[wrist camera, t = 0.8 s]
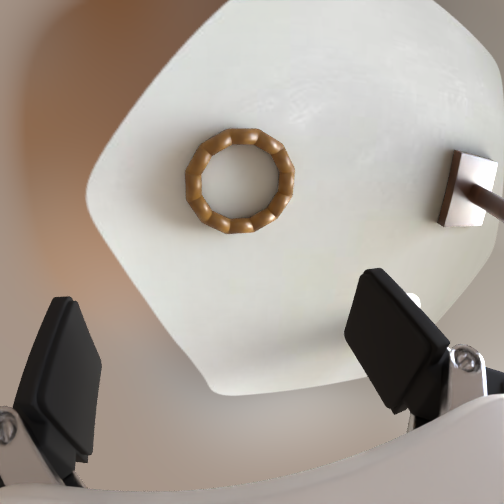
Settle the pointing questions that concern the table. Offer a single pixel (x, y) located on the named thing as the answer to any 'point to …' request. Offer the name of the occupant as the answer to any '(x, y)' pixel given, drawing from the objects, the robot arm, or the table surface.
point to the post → (470, 192)
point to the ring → (217, 145)
